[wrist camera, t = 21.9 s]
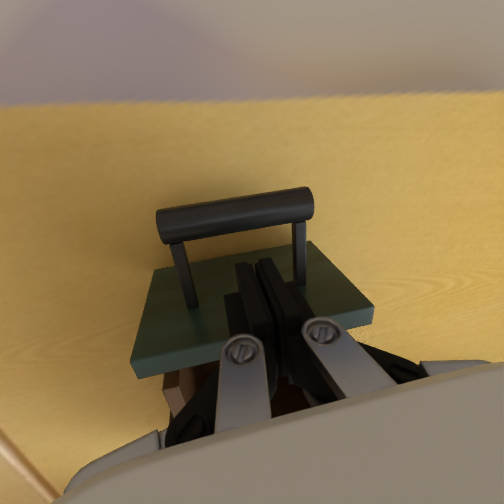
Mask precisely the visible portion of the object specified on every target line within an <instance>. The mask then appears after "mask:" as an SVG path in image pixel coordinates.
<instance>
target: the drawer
mask: <svg viewBox="0 0 504 504" xmlns="http://www.w3.org/2000/svg"><path fill="white" fill-rule="evenodd" d="M313 214H314V199H313V195H312V192H311V190H310V189H309V188H308V187H298V188H292V189H285V190H279V191H273V192H266V193H260V194H253V195H247V196H241V197H234V198H228V199H221V200H215V201H209V202H202V203H196V204H189V205H183V206H177V207H170V208H164V209H158V210H157V211H156V224H157V229H158V233H159V236H160V239H161V241H162V242H163V244H165V245H167V244H170V249H171V253H172V256H173V260H174V263H175V266H172V267H166V268H161V269H156V270H154V273H153V276H152V280H151V284H150V288H149V291H148V295H147V299H146V303H145V306H144V310H143V314H142V318H141V321H140V325H139V329H138V332H137V336H136V340H135V344H134V347H133V351H132V355H131V359H130V364H131V366H132V368H133V370H134V372H135V374H136V376H137V378H138V379H142V378H146V377H150V376H155V375H159V374H163V373H164V380H163V388H162V391H163V393H164V396H165V398H166V400H167V403H168V405H169V408H170V410H171V412H172V415H173V417H174V418H175V416H176V415H177V414H178V413H179V412H180V410H181V409H182V408H183V407H184V406H185V405H186V403H187V402H188V401H189V400H190V399H191V398H192V396H193V395H194V394H195V393H196V392H197V391H198V389H199V388H200V387H201V386H202V385H203V384H204V382H205V381H206V380H207V379H208V378H209V377H210V375H211V374H212V373H213V372H214V371H215V370H216V368H217V367H218V366H219V365H220V355H221V349H222V346H223V345H224V343H225V342H226V341H227V340H228V339H229V338H230V335H229V329H228V322H227V316H226V310H225V303H224V297H223V295H225V294H230V293H234V292H239V290H238V284H237V277H236V271H235V263H240V262H245V261H246V262H247V264H252V266H253V269H254V271H255V263H257V262H258V261H259V259H261V258H267V257H271V258H272V260H273V262H274V264H275V266H276V267H277V269H278V271H279V273H280V275H281V277H282V278H283V280H284V282H289V281H294V282H295V283H296V285H297V287H298V288H299V290H300V291H301V293H302V295H303V296H304V298H305V300H306V301H307V303H308V305H309V306H310V308H311V309H312V311H313V313H314V314H315V316H316V317H327V318H331V319H333V320H335V321H337V322H338V323H339V324H340V325H341V326H342V327H343V328H344V329H345V330H348V329H352V328H356V327H360V326H365V325H369V324H371V323H372V319H373V313H374V305H373V304H372V303H371V302H370V301H369V300H368V299H367V298H366V297H365V296H364V295H363V294H362V293H361V292H360V291H359V290H358V289H357V288H356V287H355V286H354V285H353V283H352V282H351V281H350V280H349V279H348V278H347V277H346V276H345V275H344V274H343V273H342V272H341V271H340V270H339V269H338V268H337V267H336V266H335V265H334V264H333V263H332V262H331V261H330V260H329V259H328V258H327V257H326V256H325V255H324V254H323V253H322V252H321V251H320V250H319V249H318V248H317V247H316V246H315V245H314V244H313V243H312V242H311V241H306V221H305V220H310V219H311V218H312V217H313ZM288 223H292V244H290V245H285V246H279V247H274V248H269V249H263V250H258V251H252V252H247V253H242V254H236V255H231V256H225V257H220V258H215V259H209V260H204V261H199V262H193V263H189V261H188V257H187V253H186V249H185V245H184V241H190V240H196V239H202V238H207V237H213V236H219V235H225V234H230V233H236V232H242V231H247V230H253V229H259V228H265V227H270V226H276V225H282V224H288ZM255 274H256V272H255ZM277 369H278V378H277V390H276V392H275V393H274V395H273V397H272V398H271V400H270V406H271V415H272V418H275V417H279V416H283V415H286V414H290V413H294V412H298V411H301V410H305V409H309V408H311V406H310V405H309V403H308V401H307V399H306V398H305V396H304V393H303V389H302V388H300V387H298V386H296V385H295V384H290V385H289V382H288V379H287V376H285V377H282V376H281V373H280V370H279V367H278V364H277Z"/></svg>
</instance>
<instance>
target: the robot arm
mask: <svg viewBox="0 0 504 504" xmlns="http://www.w3.org/2000/svg"><path fill="white" fill-rule="evenodd" d="M235 271H236V277H237V284H238V290H239V292H234V293H230V294H225V295H223V297H224V303H225V310H226V316H227V322H228V329H229V335H230V338H229V339H228V340H227V341H226V342H225V343H224V345H223V346H222V349H221V355H220V365H219V366H218V367H217V368H216V370H215V371H214V372H213V373H212V374H211V375H210V377H209V378H208V379H207V380H206V381H205V382H204V384H203V385H202V386H201V387H200V388H199V389H198V391H197V392H196V393H195V394H194V395H193V396H192V398H191V399H190V400H189V401H188V402H187V403H186V405H185V406H184V407H183V408H182V409H181V410H180V412H179V413H178V414H177V415H176V416H175V418H174V419H173V420H172V422H171V423H170V425H169V426H168V428H166V429H164V430H162V431H160V432H158V430H157V429H156V430H154V431H152V432H150V433H148V434H146V435H144V436H142V437H140V438H138V439H136V440H134V441H132V442H130V443H128V444H126V445H124V446H122V447H120V448H118V449H116V450H114V451H112V452H110V453H108V454H106V455H104V456H102V457H100V458H98V459H96V460H94V461H92V462H90V463H89V464H87V465H86V466H84V467H83V468H81V469H80V470H79V471H78V472H77V473H76V474H75V475H74V476H73V478H72V479H71V480H70V482H69V484H68V485H67V487H66V488H65V490H64V493H63V495H62V496H61V497H59V498H58V499H56V500H55V501H54V502H52V503H51V504H504V362H497V363H491V362H488V361H483V360H447V361H420V363H419V365H417V364H415V363H414V362H411V361H409V360H407V359H405V358H402V357H399V356H396V355H394V354H391V353H388V352H385V351H382V350H380V349H377V348H374V347H371V346H369V345H366V344H363V343H360V342H357V341H356V340H355V339H354V338H353V337H352V336H351V335H350V334H349V333H348V332H347V331H346V330H345V329H344V328H343V327H342V326H341V325H340V324H339V323H338V322H337V321H335V320H333V319H331V318H327V317H316V316H315V314H314V313H313V311H312V309H311V308H310V306H309V305H308V303H307V301H306V300H305V298H304V296H303V295H302V293H301V291H300V290H299V288H298V287H297V285H296V283H295V282H294V281H289V282H284V280H283V278H282V277H281V275H280V273H279V271H278V269H277V267H276V266H275V264H274V262H273V260H272V258H271V257H267V258H261V259H259V261H258V262H257V263H255V271H254V269H253V266H252V264H247V262H246V261H245V262H240V263H235ZM255 272H256V274H255ZM277 364H278V367H279V370H280V373H281V376H282V377H285V376H287V379H288V382H289V385H290V384H295V385H296V386H298V387H300V388H302V389H303V393H304V396H305V398H306V399H307V401H308V403H309V405H310V406H311V408H309V409H305V410H301V411H298V412H294V413H290V414H286V415H283V416H279V417H275V418H272V415H271V406H270V400H271V398H272V397H273V395H274V393H275V392H276V390H277V378H278V369H277Z"/></svg>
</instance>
